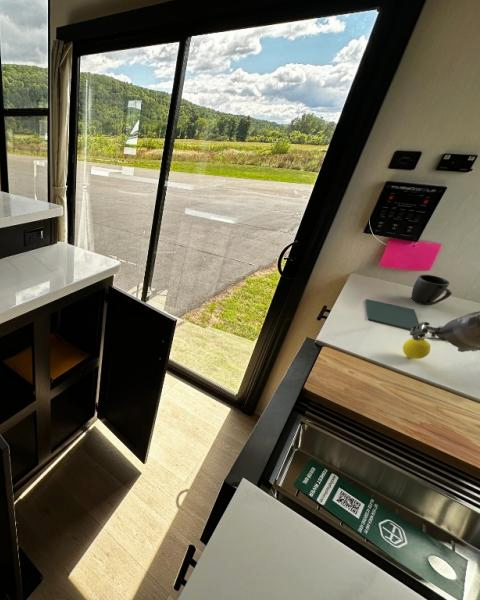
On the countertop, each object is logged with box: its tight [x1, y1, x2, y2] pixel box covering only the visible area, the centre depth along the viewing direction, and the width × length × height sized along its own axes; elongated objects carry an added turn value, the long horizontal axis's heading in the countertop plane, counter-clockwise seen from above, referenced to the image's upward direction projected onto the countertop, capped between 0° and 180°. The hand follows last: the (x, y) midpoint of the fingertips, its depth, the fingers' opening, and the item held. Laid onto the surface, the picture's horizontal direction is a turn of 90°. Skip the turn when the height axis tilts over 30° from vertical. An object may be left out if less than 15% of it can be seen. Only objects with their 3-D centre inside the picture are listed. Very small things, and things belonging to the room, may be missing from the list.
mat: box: [365, 298, 420, 331], centre depth 115 cm, size 14×16×1 cm
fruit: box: [402, 338, 431, 360], centre depth 94 cm, size 6×6×8 cm
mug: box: [410, 274, 453, 306], centre depth 118 cm, size 8×12×10 cm
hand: (437, 342), depth 84 cm, fingers open, 8 cm apart
